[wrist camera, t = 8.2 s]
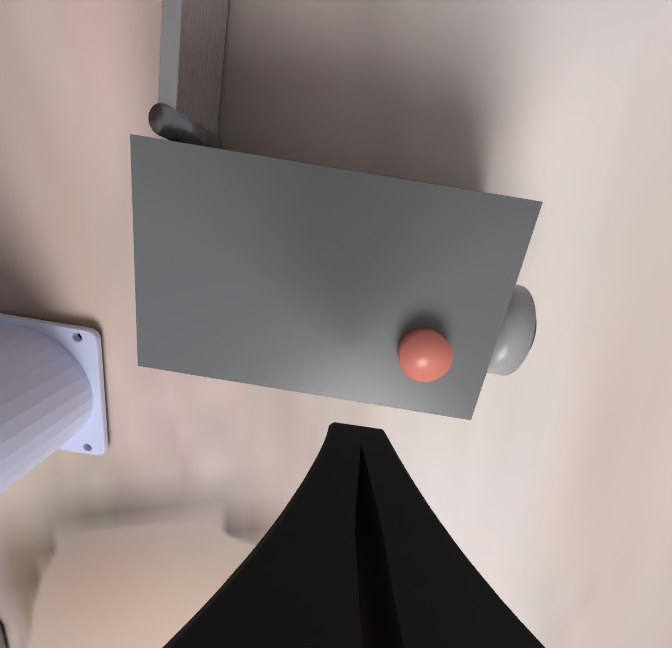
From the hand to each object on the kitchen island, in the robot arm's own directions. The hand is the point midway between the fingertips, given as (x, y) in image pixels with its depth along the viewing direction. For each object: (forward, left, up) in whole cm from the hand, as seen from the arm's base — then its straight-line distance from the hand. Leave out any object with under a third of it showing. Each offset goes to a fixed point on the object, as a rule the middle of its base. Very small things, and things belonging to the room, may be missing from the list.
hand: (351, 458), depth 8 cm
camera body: (-2, +3, -9) cm, 10 cm away
